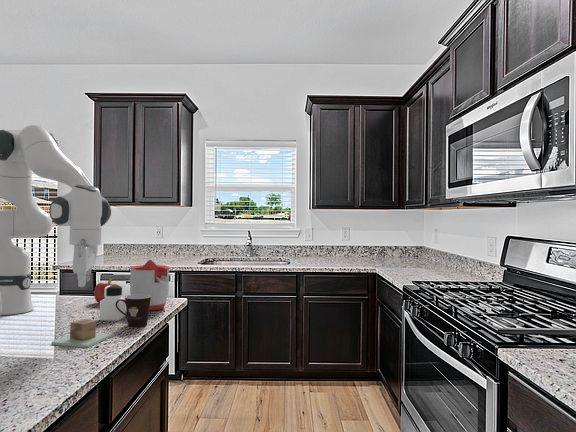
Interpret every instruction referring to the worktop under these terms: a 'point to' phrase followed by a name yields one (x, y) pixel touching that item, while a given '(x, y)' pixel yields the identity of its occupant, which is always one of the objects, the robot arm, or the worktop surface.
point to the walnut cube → (82, 329)
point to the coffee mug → (136, 309)
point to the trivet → (77, 343)
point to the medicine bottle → (112, 304)
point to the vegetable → (101, 290)
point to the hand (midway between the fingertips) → (84, 283)
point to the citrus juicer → (151, 283)
